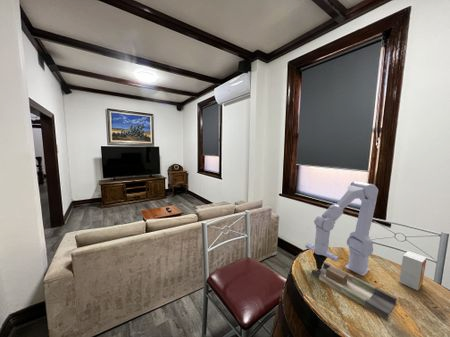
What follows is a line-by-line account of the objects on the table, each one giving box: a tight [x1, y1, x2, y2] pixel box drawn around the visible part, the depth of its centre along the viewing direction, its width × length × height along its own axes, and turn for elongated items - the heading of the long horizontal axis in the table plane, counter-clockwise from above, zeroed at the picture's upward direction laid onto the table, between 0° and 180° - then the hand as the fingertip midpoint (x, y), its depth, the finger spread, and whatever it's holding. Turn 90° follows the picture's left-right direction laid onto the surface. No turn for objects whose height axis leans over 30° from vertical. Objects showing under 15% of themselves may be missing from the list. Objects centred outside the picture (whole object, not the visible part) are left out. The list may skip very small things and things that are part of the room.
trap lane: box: [311, 261, 398, 320], centre depth 78 cm, size 13×27×2 cm, turn 36°
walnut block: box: [326, 264, 348, 286], centre depth 82 cm, size 5×7×4 cm
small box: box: [398, 250, 428, 291], centre depth 83 cm, size 8×6×13 cm
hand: (319, 268), depth 88 cm, fingers closed
